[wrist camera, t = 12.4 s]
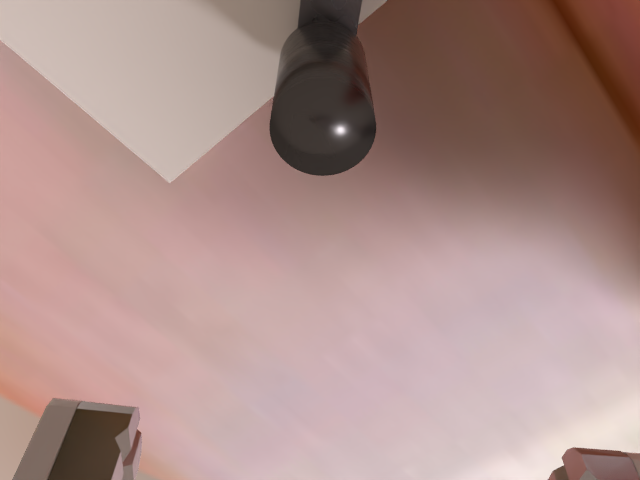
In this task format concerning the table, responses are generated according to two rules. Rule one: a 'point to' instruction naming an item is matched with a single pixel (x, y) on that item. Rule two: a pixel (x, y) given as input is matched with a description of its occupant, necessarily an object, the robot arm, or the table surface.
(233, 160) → the table surface
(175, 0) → the lever board
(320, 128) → the lever
